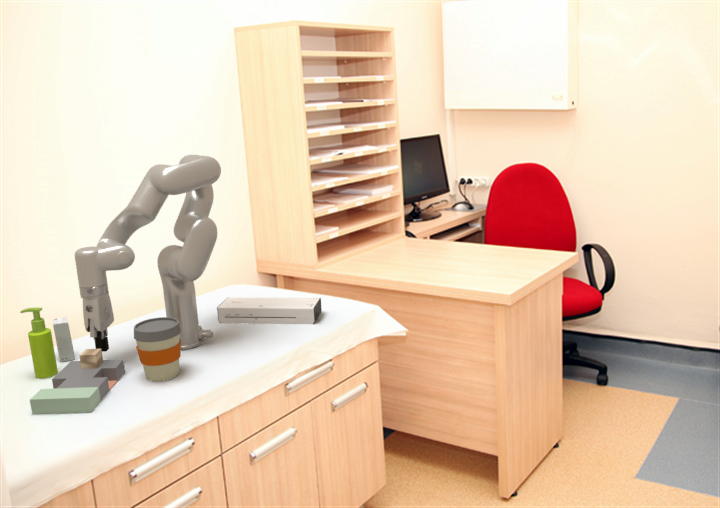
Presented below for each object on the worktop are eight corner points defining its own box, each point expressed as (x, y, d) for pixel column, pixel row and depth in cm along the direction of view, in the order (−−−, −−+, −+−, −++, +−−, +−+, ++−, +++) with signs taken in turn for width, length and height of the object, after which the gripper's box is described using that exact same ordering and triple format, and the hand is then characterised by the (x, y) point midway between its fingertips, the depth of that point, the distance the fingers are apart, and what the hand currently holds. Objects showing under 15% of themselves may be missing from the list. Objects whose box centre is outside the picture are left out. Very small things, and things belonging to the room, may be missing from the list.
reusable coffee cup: (194, 368, 188) (189, 319, 185) (165, 387, 177) (159, 334, 173) (160, 363, 193) (154, 315, 190) (129, 380, 182) (122, 329, 179)
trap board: (125, 372, 188) (123, 359, 187) (91, 412, 164) (89, 397, 163) (73, 374, 188) (71, 361, 187) (32, 414, 165) (29, 399, 164)
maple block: (103, 361, 186) (101, 348, 185) (97, 368, 181) (95, 354, 180) (87, 362, 186) (85, 349, 185) (81, 368, 181) (79, 355, 180)
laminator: (218, 324, 225) (216, 307, 224) (230, 312, 237) (228, 296, 236) (315, 325, 220) (314, 307, 219) (322, 313, 232) (321, 296, 231)
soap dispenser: (36, 371, 191) (25, 306, 186) (60, 369, 192) (50, 304, 187) (28, 379, 186) (16, 312, 181) (53, 377, 186) (42, 311, 181)
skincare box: (75, 359, 198) (69, 322, 196) (59, 362, 197) (52, 324, 194) (74, 353, 204) (68, 316, 201) (58, 356, 202) (52, 318, 199)
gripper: (96, 297, 179) (105, 360, 184) (116, 282, 194) (124, 340, 198) (69, 298, 179) (79, 361, 184) (91, 283, 194) (100, 341, 198)
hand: (102, 350), depth 191 cm, fingers closed
